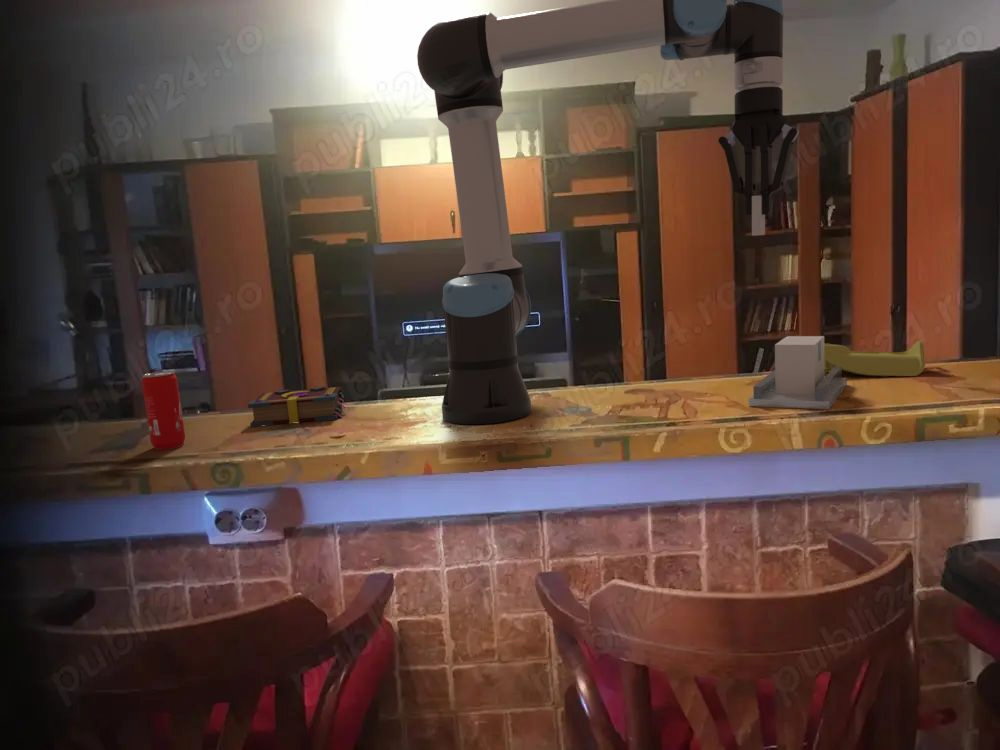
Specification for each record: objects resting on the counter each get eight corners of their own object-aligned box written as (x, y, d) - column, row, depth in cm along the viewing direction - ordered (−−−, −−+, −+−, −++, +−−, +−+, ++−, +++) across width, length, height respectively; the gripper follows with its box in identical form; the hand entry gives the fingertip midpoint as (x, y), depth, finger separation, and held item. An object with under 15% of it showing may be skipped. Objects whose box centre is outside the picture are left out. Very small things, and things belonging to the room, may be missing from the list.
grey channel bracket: (748, 406, 126) (748, 386, 125) (775, 382, 143) (774, 365, 142) (829, 409, 120) (829, 388, 119) (846, 384, 137) (846, 366, 136)
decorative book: (264, 415, 149) (260, 389, 148) (350, 408, 150) (347, 382, 149) (251, 429, 138) (247, 401, 137) (343, 420, 139) (340, 393, 138)
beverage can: (155, 444, 129) (144, 373, 127) (188, 440, 131) (178, 369, 129) (149, 452, 124) (137, 377, 122) (183, 448, 126) (173, 374, 124)
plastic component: (908, 353, 150) (924, 337, 141) (910, 391, 148) (926, 376, 139) (798, 349, 154) (807, 333, 145) (798, 386, 152) (807, 372, 143)
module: (775, 393, 128) (774, 344, 127) (787, 382, 137) (786, 336, 135) (815, 394, 125) (814, 344, 124) (824, 382, 134) (824, 336, 132)
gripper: (712, 92, 129) (713, 237, 133) (794, 79, 122) (793, 233, 126) (725, 97, 136) (726, 236, 139) (804, 86, 129) (803, 232, 133)
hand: (758, 235), depth 133 cm, fingers closed
